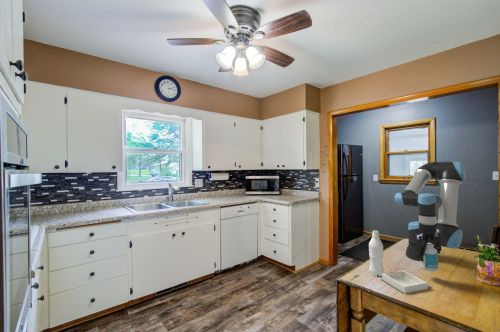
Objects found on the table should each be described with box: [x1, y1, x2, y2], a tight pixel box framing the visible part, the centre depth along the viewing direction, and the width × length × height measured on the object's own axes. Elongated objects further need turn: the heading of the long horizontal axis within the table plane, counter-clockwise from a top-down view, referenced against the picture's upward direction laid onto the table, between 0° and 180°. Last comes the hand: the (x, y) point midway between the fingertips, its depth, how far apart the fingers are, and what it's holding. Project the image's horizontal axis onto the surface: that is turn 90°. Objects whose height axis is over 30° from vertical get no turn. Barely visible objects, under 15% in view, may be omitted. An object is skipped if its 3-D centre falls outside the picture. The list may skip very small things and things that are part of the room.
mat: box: [380, 279, 433, 295], centre depth 120 cm, size 18×14×1 cm
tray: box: [381, 269, 429, 294], centre depth 120 cm, size 14×14×3 cm
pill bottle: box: [420, 243, 439, 272], centre depth 124 cm, size 8×7×14 cm
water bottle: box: [368, 229, 385, 278], centre depth 131 cm, size 7×7×25 cm
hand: (428, 265), depth 124 cm, fingers closed on pill bottle, 7 cm apart
